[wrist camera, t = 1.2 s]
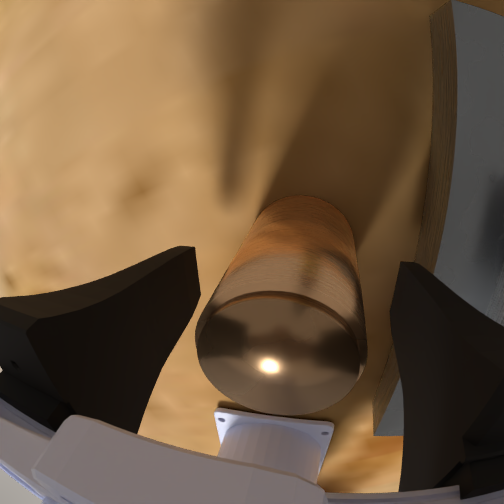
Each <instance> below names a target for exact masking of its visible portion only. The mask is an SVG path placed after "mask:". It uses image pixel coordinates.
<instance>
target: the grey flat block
mask: <svg viewBox="0 0 504 504" xmlns="http://www.w3.org/2000/svg"><path fill="white" fill-rule="evenodd" d="M429 17H430V28H431V41H432V60H433V116H432V136H431V151H430V162H429V172H428V181H427V190H426V197H425V204H424V211H423V218H422V224H421V230H420V235H419V241H418V246H417V251H416V256H415V261H414V263H418V264H420V265H422V266H423V267H424V268H426V269H427V270H428V271H429V272H431V273H432V274H433V275H434V276H435V277H437V278H438V279H439V280H440V281H441V282H443V283H444V284H445V285H446V286H447V287H449V288H450V289H451V290H452V291H453V292H455V293H456V294H457V295H458V296H460V297H461V298H462V299H464V300H465V301H466V302H468V303H469V304H470V305H471V306H473V307H474V308H476V309H477V310H478V311H480V312H481V313H483V314H484V315H486V316H488V317H489V318H491V319H492V320H494V321H495V322H497V323H499V324H500V325H502V326H504V17H503V16H501V15H498V14H496V13H493V12H490V11H487V10H484V9H482V8H479V7H476V6H472V5H469V4H466V3H463V2H459V1H456V0H450V1H448V2H447V3H446V4H444V5H443V6H442V7H440V8H439V9H438V10H437V11H435V12H434V13H433V14H431V15H430V16H429ZM373 434H374V436H404V409H403V392H402V385H401V379H400V374H399V368H398V363H397V358H396V354H395V349H394V344H393V346H392V349H391V352H390V355H389V358H388V361H387V364H386V367H385V370H384V373H383V376H382V378H381V381H380V384H379V387H378V389H377V392H376V395H375V397H374V400H373Z"/></svg>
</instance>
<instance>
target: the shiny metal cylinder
mask: <svg viewBox="0 0 504 504" xmlns="http://www.w3.org/2000/svg"><path fill="white" fill-rule="evenodd" d="M195 343H196V348H197V355H198V360H199V363H200V366H201V368H202V370H203V372H204V374H205V375H206V377H207V378H208V380H209V381H210V382H211V383H212V384H213V385H214V386H215V387H216V388H217V389H218V390H219V391H220V392H221V393H223V394H224V395H225V396H227V397H228V398H230V399H231V400H233V401H235V402H237V403H238V404H240V405H243V406H245V407H247V408H250V409H253V410H256V411H260V412H264V413H268V414H274V415H303V414H309V413H313V412H317V411H320V410H323V409H326V408H328V407H330V406H332V405H334V404H336V403H337V402H339V401H340V400H341V399H343V398H344V397H345V396H346V395H347V394H348V393H349V392H350V391H351V389H352V388H353V386H354V385H355V383H356V382H357V380H358V379H359V378H360V376H361V374H362V373H363V371H364V368H365V365H366V361H367V337H366V327H365V318H364V309H363V300H362V293H361V285H360V278H359V271H358V264H357V257H356V251H355V245H354V239H353V234H352V230H351V228H350V225H349V223H348V222H347V220H346V218H345V217H344V216H343V215H342V213H341V212H340V211H339V210H338V209H337V208H335V207H334V206H333V205H331V204H330V203H328V202H326V201H324V200H322V199H319V198H316V197H312V196H305V195H296V196H289V197H285V198H282V199H280V200H277V201H275V202H274V203H272V204H270V205H269V206H268V207H267V208H265V209H264V210H263V211H262V212H261V214H260V215H259V216H258V218H257V219H256V221H255V223H254V224H253V226H252V228H251V230H250V231H249V233H248V235H247V236H246V238H245V240H244V241H243V243H242V245H241V247H240V248H239V250H238V252H237V253H236V255H235V257H234V259H233V260H232V262H231V264H230V265H229V267H228V269H227V271H226V272H225V274H224V276H223V277H222V279H221V281H220V283H219V284H218V286H217V288H216V289H215V291H214V293H213V295H212V296H211V298H210V300H209V302H208V303H207V305H206V307H205V308H204V310H203V312H202V314H201V316H200V318H199V320H198V322H197V326H196V330H195Z"/></svg>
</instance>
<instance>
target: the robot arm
mask: <svg viewBox="0 0 504 504" xmlns="http://www.w3.org/2000/svg"><path fill="white" fill-rule="evenodd" d="M200 296H201V292H200V284H199V276H198V269H197V261H196V252H195V247H189V246H177V247H174V248H171V249H169V250H166V251H164V252H162V253H159V254H157V255H155V256H153V257H151V258H148V259H146V260H144V261H142V262H140V263H138V264H135V265H133V266H131V267H128V268H126V269H124V270H121V271H119V272H117V273H114V274H112V275H109V276H107V277H104V278H101V279H99V280H96V281H93V282H90V283H86V284H83V285H79V286H75V287H71V288H67V289H64V290H59V291H54V292H49V293H43V294H36V295H29V296H16V297H2V298H0V366H1V368H2V370H3V371H2V372H1V373H0V468H1V469H2V470H3V471H5V472H6V473H7V474H8V475H9V476H11V477H12V478H13V479H14V480H16V481H17V482H18V483H20V484H21V485H22V486H23V487H25V488H26V489H27V490H29V491H30V492H32V493H33V494H34V495H36V496H37V497H38V498H40V499H41V500H43V502H42V504H504V326H502V325H500V324H499V323H497V322H495V321H494V320H492V319H491V318H489V317H488V316H486V315H484V314H483V313H481V312H480V311H478V310H477V309H476V308H474V307H473V306H471V305H470V304H469V303H468V302H466V301H465V300H464V299H462V298H461V297H460V296H458V295H457V294H456V293H455V292H453V291H452V290H451V289H450V288H449V287H447V286H446V285H445V284H444V283H443V282H441V281H440V280H439V279H438V278H437V277H435V276H434V275H433V274H432V273H431V272H429V271H428V270H427V269H426V268H424V267H423V266H422V265H420V264H418V263H414V262H401V263H400V268H399V272H398V277H397V282H396V287H395V291H394V295H393V300H392V304H391V308H390V321H391V333H392V339H393V344H394V349H395V354H396V358H397V363H398V368H399V374H400V379H401V385H402V392H403V409H404V438H403V457H402V469H401V477H400V485H399V492H391V493H328V492H325V491H324V490H323V489H322V488H321V487H320V486H319V485H318V484H317V479H318V475H319V472H320V469H321V466H322V464H323V461H324V458H325V455H326V452H327V449H328V446H329V443H330V440H331V437H332V434H333V431H334V424H333V423H332V422H328V421H316V420H304V419H295V418H286V417H277V416H270V415H262V414H256V413H249V412H243V411H237V410H231V409H226V408H216V409H215V412H214V416H215V421H216V425H217V430H218V434H219V439H220V443H221V447H220V450H219V453H218V456H217V457H216V456H212V455H208V454H203V453H199V452H195V451H191V450H187V449H184V448H180V447H176V446H173V445H169V444H166V443H163V442H159V441H156V440H153V439H150V438H147V437H144V436H141V435H138V434H137V433H138V430H139V427H140V424H141V421H142V418H143V415H144V412H145V409H146V406H147V404H148V401H149V398H150V396H151V393H152V391H153V388H154V386H155V383H156V381H157V379H158V376H159V374H160V372H161V369H162V368H163V366H164V364H165V362H166V360H167V358H168V357H169V355H170V353H171V351H172V350H173V348H174V346H175V345H176V343H177V341H178V340H179V338H180V336H181V335H182V333H183V331H184V330H185V328H186V326H187V325H188V323H189V321H190V319H191V318H192V316H193V313H194V311H195V309H196V306H197V304H198V301H199V298H200Z"/></svg>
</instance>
